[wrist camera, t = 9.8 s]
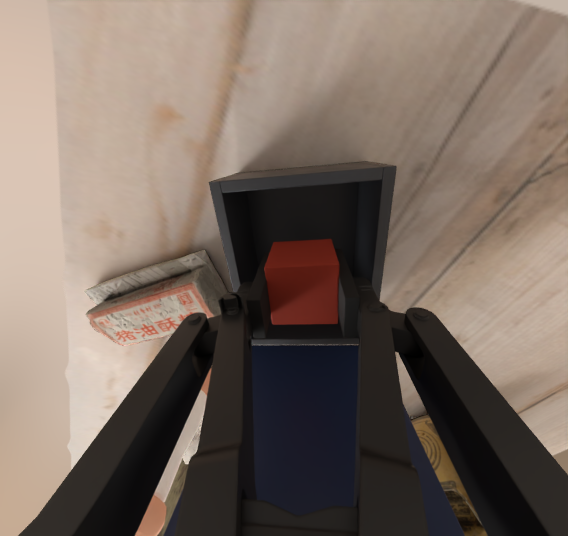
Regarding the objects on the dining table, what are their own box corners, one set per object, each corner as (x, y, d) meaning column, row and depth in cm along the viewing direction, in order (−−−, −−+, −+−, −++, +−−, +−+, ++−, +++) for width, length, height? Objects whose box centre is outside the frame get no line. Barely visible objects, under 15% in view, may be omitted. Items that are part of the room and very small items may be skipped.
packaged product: (187, 263, 22) (230, 336, 26) (205, 245, 27) (241, 310, 31) (58, 306, 26) (113, 363, 30) (92, 284, 31) (137, 337, 35)
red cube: (273, 241, 18) (263, 267, 14) (331, 238, 17) (339, 264, 13) (278, 290, 20) (271, 325, 16) (331, 288, 19) (338, 324, 15)
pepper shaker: (168, 374, 38) (60, 551, 21) (191, 354, 36) (88, 539, 19) (203, 395, 40) (129, 572, 23) (227, 377, 38) (163, 564, 21)
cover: (97, 689, 7) (105, 700, 7) (580, 780, 5) (570, 788, 6) (243, 345, 22) (244, 352, 22) (375, 344, 21) (375, 352, 21)
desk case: (237, 172, 23) (208, 181, 16) (366, 161, 21) (397, 165, 14) (258, 300, 30) (245, 345, 23) (356, 297, 28) (373, 344, 21)
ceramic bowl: (475, 456, 42) (554, 596, 29) (381, 459, 45) (413, 586, 32) (493, 378, 33) (623, 533, 19) (372, 388, 36) (413, 528, 23)
